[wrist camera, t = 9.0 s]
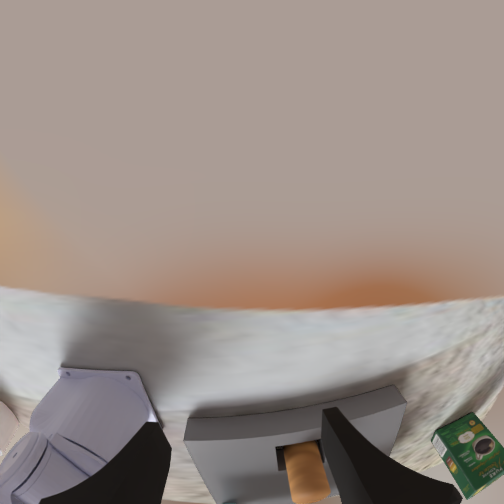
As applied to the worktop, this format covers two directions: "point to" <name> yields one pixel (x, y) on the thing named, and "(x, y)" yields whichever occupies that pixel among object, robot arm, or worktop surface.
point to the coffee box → (470, 454)
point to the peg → (306, 472)
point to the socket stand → (280, 444)
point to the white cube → (6, 426)
